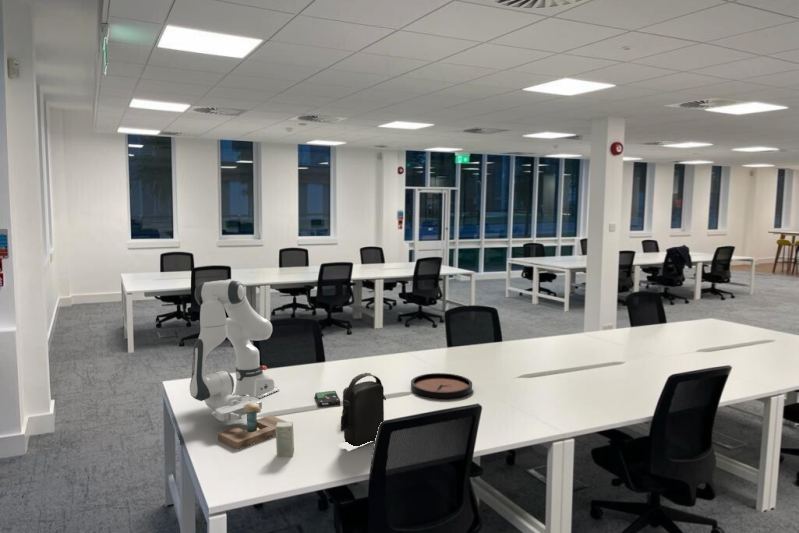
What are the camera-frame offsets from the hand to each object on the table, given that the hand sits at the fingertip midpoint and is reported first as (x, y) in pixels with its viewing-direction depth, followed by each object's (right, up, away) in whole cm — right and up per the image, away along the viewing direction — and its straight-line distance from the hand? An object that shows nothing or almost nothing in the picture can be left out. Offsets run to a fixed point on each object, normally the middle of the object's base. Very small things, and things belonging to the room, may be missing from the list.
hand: (249, 414), depth 244 cm
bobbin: (+1, -8, 0) cm, 8 cm away
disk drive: (+28, -4, +39) cm, 48 cm away
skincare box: (+19, -11, -20) cm, 29 cm away
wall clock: (+84, -2, +57) cm, 101 cm away
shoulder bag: (+48, -9, -7) cm, 49 cm away
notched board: (+3, -8, -2) cm, 9 cm away
